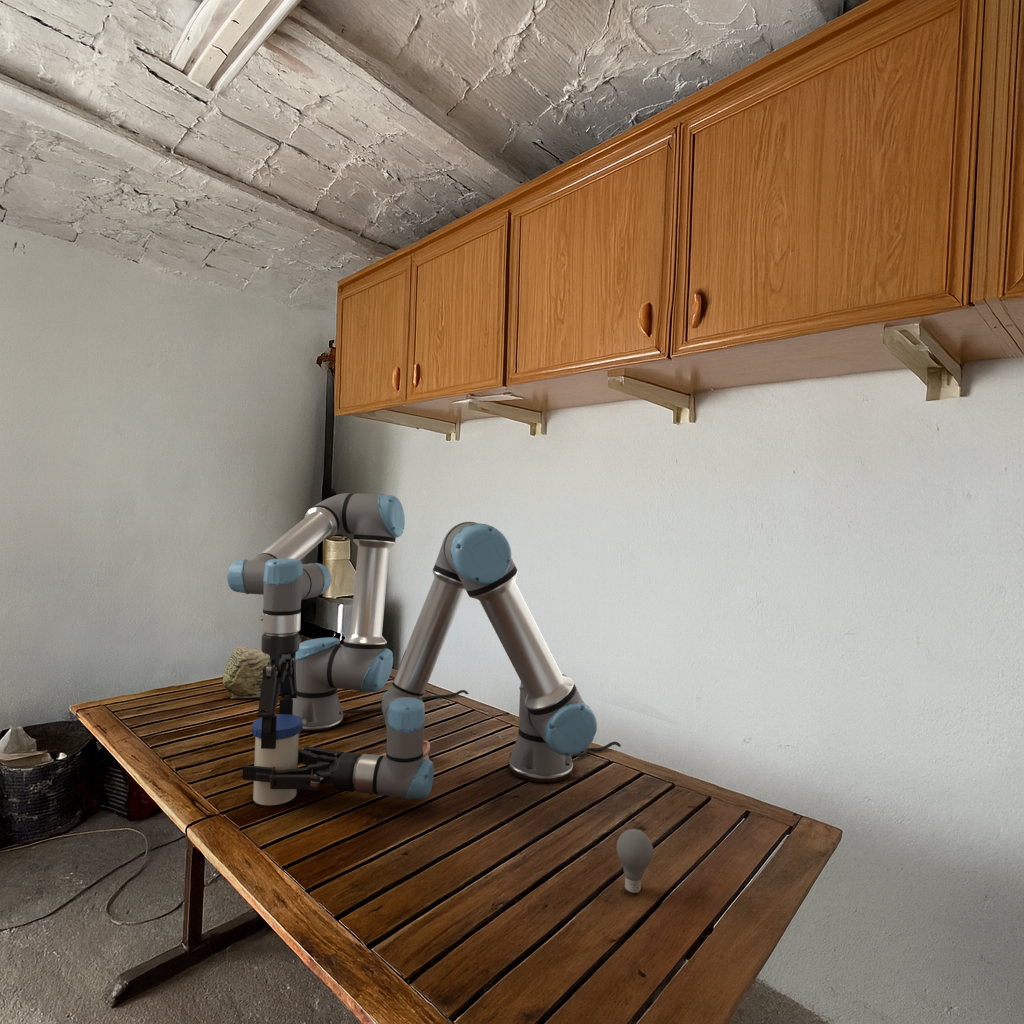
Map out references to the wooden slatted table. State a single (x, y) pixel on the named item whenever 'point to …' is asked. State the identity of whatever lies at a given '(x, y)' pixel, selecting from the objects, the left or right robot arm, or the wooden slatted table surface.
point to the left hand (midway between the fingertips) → (277, 738)
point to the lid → (281, 726)
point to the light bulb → (634, 857)
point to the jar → (281, 760)
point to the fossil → (245, 672)
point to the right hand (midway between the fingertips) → (255, 762)
